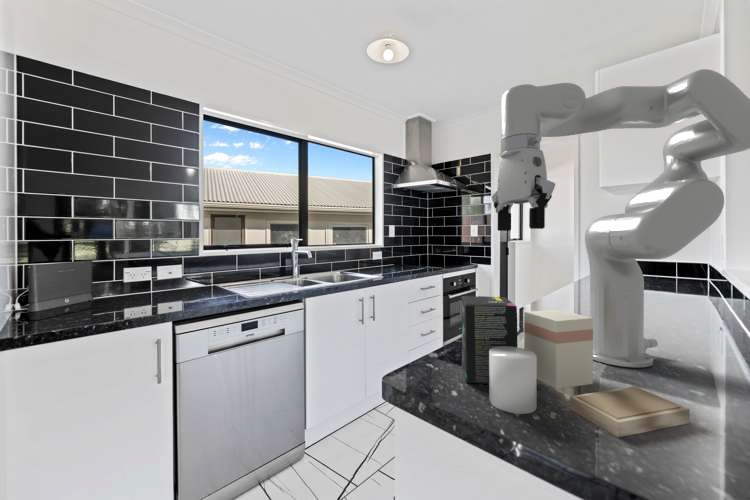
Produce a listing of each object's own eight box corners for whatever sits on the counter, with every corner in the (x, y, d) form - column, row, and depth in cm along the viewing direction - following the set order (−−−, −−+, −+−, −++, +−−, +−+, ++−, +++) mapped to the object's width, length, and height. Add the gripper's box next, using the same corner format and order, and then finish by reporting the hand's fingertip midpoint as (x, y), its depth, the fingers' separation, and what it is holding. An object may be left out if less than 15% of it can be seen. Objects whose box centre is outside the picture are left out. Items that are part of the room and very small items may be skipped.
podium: (634, 398, 53) (634, 385, 52) (689, 423, 45) (689, 407, 45) (569, 409, 49) (569, 395, 49) (617, 437, 42) (617, 421, 42)
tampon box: (519, 388, 57) (519, 305, 56) (465, 384, 59) (464, 304, 58) (506, 365, 67) (506, 295, 67) (461, 362, 69) (461, 294, 69)
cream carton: (557, 367, 66) (557, 309, 66) (592, 383, 58) (593, 318, 58) (524, 371, 64) (524, 311, 64) (556, 389, 56) (556, 321, 56)
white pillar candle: (516, 390, 56) (516, 344, 56) (547, 410, 49) (547, 358, 49) (480, 395, 54) (480, 348, 54) (507, 416, 47) (507, 363, 47)
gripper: (569, 137, 61) (568, 227, 61) (507, 160, 77) (507, 231, 77) (536, 133, 58) (535, 227, 59) (480, 158, 75) (480, 231, 75)
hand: (519, 229), depth 68 cm, fingers open, 9 cm apart
